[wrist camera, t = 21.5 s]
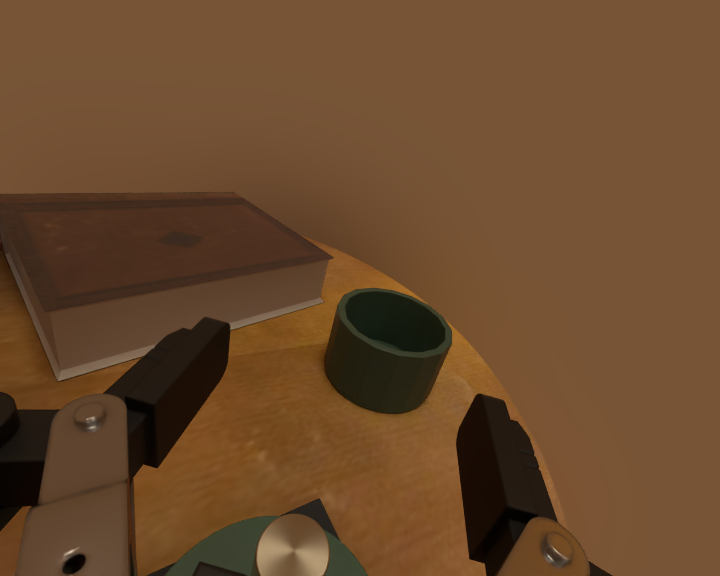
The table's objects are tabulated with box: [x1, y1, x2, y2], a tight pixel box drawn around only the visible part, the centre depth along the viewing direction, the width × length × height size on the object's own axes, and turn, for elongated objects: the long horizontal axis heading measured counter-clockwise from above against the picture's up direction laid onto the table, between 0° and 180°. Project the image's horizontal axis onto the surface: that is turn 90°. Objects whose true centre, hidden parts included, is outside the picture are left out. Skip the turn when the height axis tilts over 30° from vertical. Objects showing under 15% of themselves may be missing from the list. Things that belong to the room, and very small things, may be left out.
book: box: [0, 192, 334, 381], centre depth 44 cm, size 24×28×6 cm
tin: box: [325, 288, 452, 413], centre depth 37 cm, size 11×11×7 cm
